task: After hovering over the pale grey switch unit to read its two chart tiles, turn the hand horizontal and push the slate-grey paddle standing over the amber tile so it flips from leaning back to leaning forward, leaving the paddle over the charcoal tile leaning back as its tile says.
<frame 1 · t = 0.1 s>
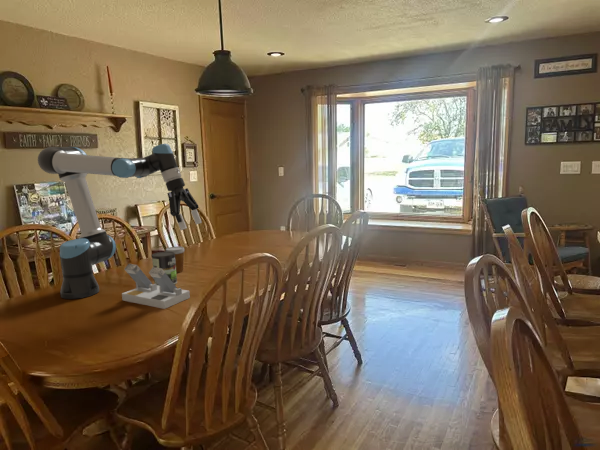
hand: (191, 226, 187), 28 cm above the table, tool tilted 20°, fingers open, 13 cm apart
coffee can: (165, 283, 201), on the table
paddle over charcoal tile: (163, 281, 173), point 9 cm above the table, hinge at -35.0°
switch unit: (156, 299, 179), on the table
disposable coffee cup: (176, 271, 221), on the table
paddle over amber tile: (139, 277, 180), point 9 cm above the table, hinge at -35.0°
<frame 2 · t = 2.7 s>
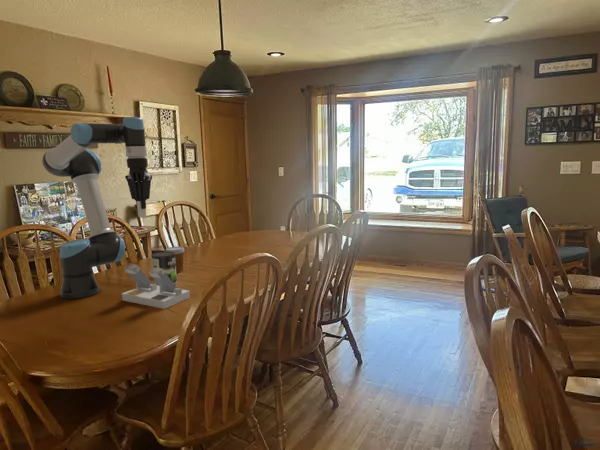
hand: (142, 216, 174), 34 cm above the table, tool pointing down, fingers closed
nothing on the table moved.
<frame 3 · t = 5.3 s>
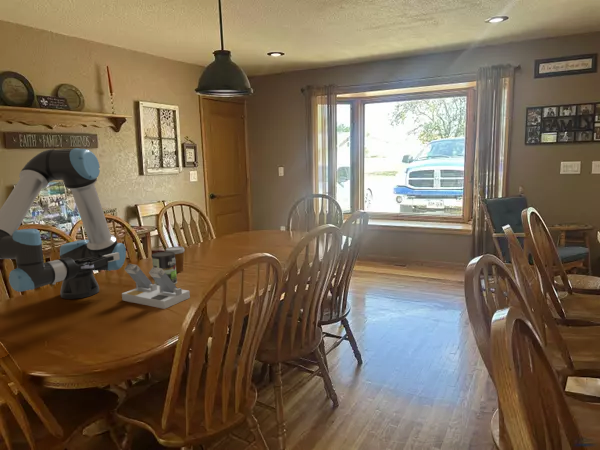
hand: (118, 255, 170), 20 cm above the table, tool horizontal, fingers closed
nothing on the table moved.
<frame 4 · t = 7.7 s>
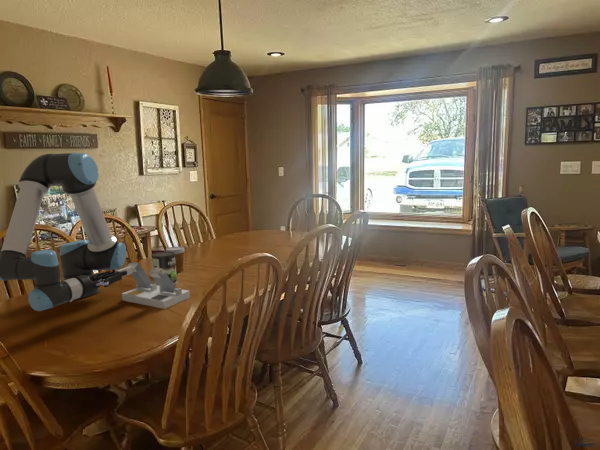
hand: (131, 269, 175), 13 cm above the table, tool horizontal, fingers closed
paddle over amber tile: (139, 276, 180), point 9 cm above the table, hinge at -29.3°, touching gripper
everything else where it was.
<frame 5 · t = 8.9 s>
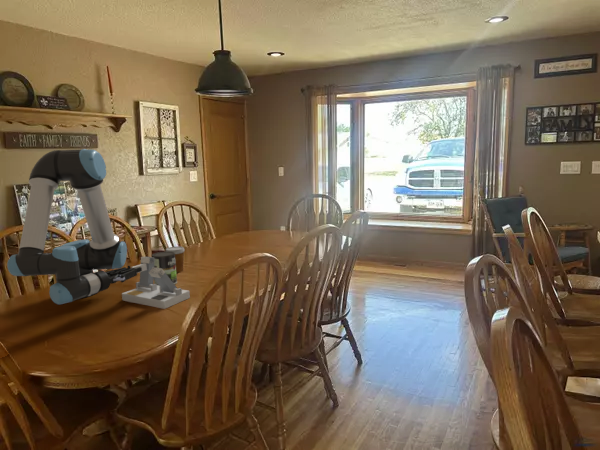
hand: (145, 266, 181), 13 cm above the table, tool horizontal, fingers closed
paddle over amber tile: (147, 272, 183), point 10 cm above the table, hinge at 11.3°, touching gripper
everything else where it was.
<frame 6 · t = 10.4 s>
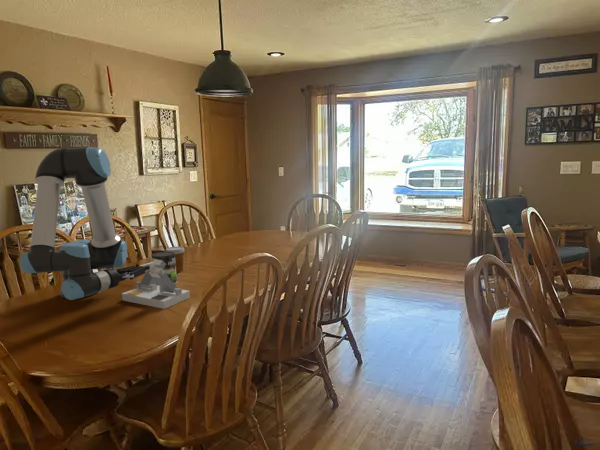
hand: (153, 265, 186), 12 cm above the table, tool horizontal, fingers closed
paddle over amber tile: (152, 274, 186), point 8 cm above the table, hinge at 46.2°, touching gripper
everything else where it was.
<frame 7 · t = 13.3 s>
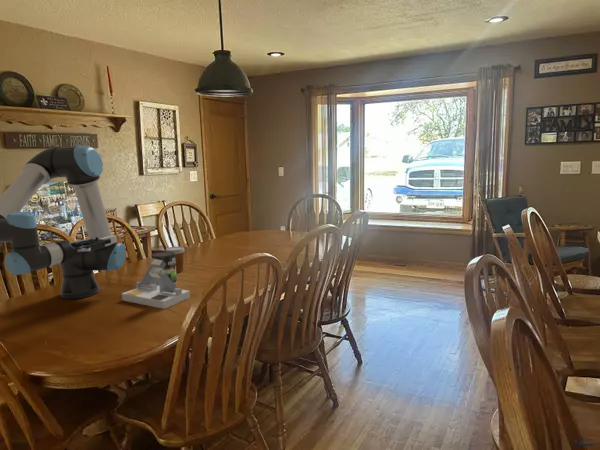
hand: (115, 238, 169), 27 cm above the table, tool horizontal, fingers closed
paddle over amber tile: (152, 274, 186), point 8 cm above the table, hinge at 46.4°
everything else where it was.
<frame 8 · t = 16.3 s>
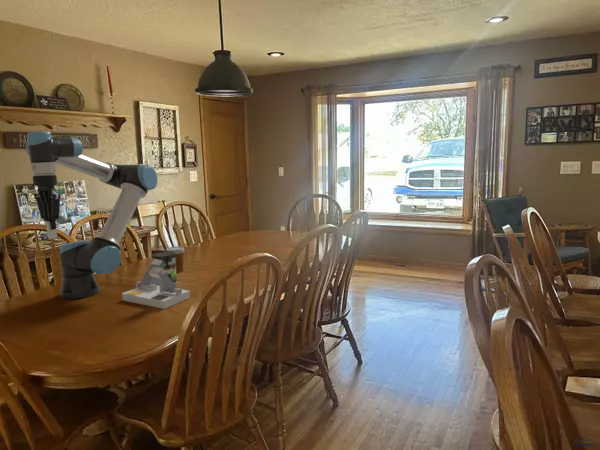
hand: (52, 237, 162), 29 cm above the table, tool pointing down, fingers closed
nothing on the table moved.
at the end: paddle over amber tile at +46° (first picture: -35°); paddle over charcoal tile at -35° (first picture: -35°) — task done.
